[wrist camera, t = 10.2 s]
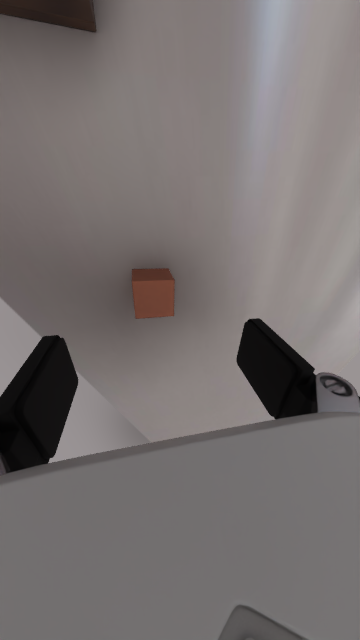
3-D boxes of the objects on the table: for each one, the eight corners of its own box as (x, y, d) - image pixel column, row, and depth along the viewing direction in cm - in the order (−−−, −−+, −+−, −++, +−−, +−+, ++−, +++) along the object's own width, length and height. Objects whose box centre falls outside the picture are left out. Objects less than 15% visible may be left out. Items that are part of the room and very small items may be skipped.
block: (135, 302, 25) (135, 319, 22) (132, 269, 23) (131, 281, 19) (168, 300, 26) (174, 316, 22) (168, 268, 24) (174, 279, 20)
